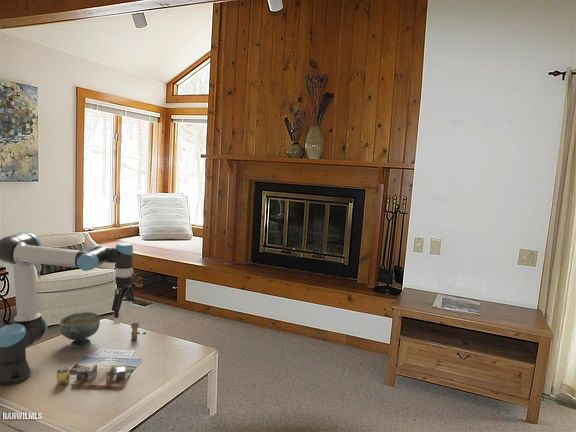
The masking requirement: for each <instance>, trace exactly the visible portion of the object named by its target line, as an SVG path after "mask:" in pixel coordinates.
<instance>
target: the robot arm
mask: <svg viewBox="0 0 576 432" xmlns="http://www.w3.org/2000/svg"><path fill="white" fill-rule="evenodd" d="M133 258H134V246H133V244H132V243H128V242H118V243H116V245H115V246H103V245H92V246H91V247H90V249H89V250H88V251H87V250H77V249H69V248H57V247H51V246H50V247H48V246H42V244H41V241H40V239H39V237H38V236H36V234H34V233H32V232H19V233H16V234H13V235H9V236H4V237H1V238H0V262H3V263H8V265H10V266H12V269H13V270H12V271H13V272H12V273H13V282H14V293H15V295H14V296H15V304H16V305H15V306H16V315H15V317H14V318H13V324H8V325H5V326H3V327H1V328H0V385H6V386H12V385H16V384H19V383H22V382H24V381H26V380H27V379H29V378H30V377H31V375H32V374H31V371H32V370H31V368H30V366H29V363H28V360H27V348H30V347H31V346H32V345H33V344H35V343H36V342H39V341H40V340H41V339H42V338H43V337H44V336H45V335H46V334H47V331H48V322H47V321H46V319H45V318H44V316H43V315H42V313H40V311H38V298H37V288H36V273H35V264H41V265H51V266H60V267H69V268H79V269H80V270H81V271H83V272H84V271H85V272H89V271H92V270H94V269H95V268H97V267H99V266H101V265H103V264H104V263H106V264H107V263H109V264H115V271H114V273H115V280H114V281H115V285H117V286H118V288H115V289H114V296H113V297H114V298H113V302H112V306H111V311H112V312H113V324H114V325H121V306H122V303H123V299H124V298H125V299H126V301H125V314H126V315H132V312H133V302H134V301H135V295H134V290H133V276H132V275H133V272H134V269H133V262H134V261H133V260H134V259H133Z"/></svg>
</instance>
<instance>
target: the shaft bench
mask: <svg viewBox="0 0 576 432" xmlns="http://www.w3.org/2000/svg"><path fill="white" fill-rule="evenodd" d="M92 365H93V366H91V368H90V367H89V366H80V367H79V368H77V369H76V373H75V374H76V378H75V379H74V380H73V382H72V383H71V386H70V387H71V388H80V389H81V388H82V389H101V390H103V389H104V390H122V388H124V386H125V384H126V383H127V382H128V380H129V379H130V377H131V373H130V372H129V373H126V374H125V380H120V381H117V375H112V370H115V364H111V365H110V366H109V368H108V369H107V370H106V371H105V372H104V371H98V364H96V363H94V364H92Z"/></svg>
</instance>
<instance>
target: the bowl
mask: <svg viewBox="0 0 576 432" xmlns="http://www.w3.org/2000/svg"><path fill="white" fill-rule="evenodd" d="M58 325H59V330H60V333H61V335H62V336H63V337H64V338H66V339H69V340H71V341H72V342H71V343H70V347H71V348H76V349H80V348H81V349H82V348H87V347H88V346H90V345H91V343H92V341H91V340H90V339H89V338H90V337H91V336H93V335H95V334H96V333H97V331H98V330H99V328H100V325H101V317H100V316H99V314H97V313H94V312H88V311H87V312H86V311H84V312H77V313H73V314H69V315H67V316H64V317H61V318H60V319H59V320H58Z"/></svg>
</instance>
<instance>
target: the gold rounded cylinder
mask: <svg viewBox="0 0 576 432" xmlns="http://www.w3.org/2000/svg"><path fill="white" fill-rule="evenodd" d="M69 384H70V368H68V367H67V366H66V367H63V368H58V369H57V371H56V385H57V387H65V386H68V385H69Z"/></svg>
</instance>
